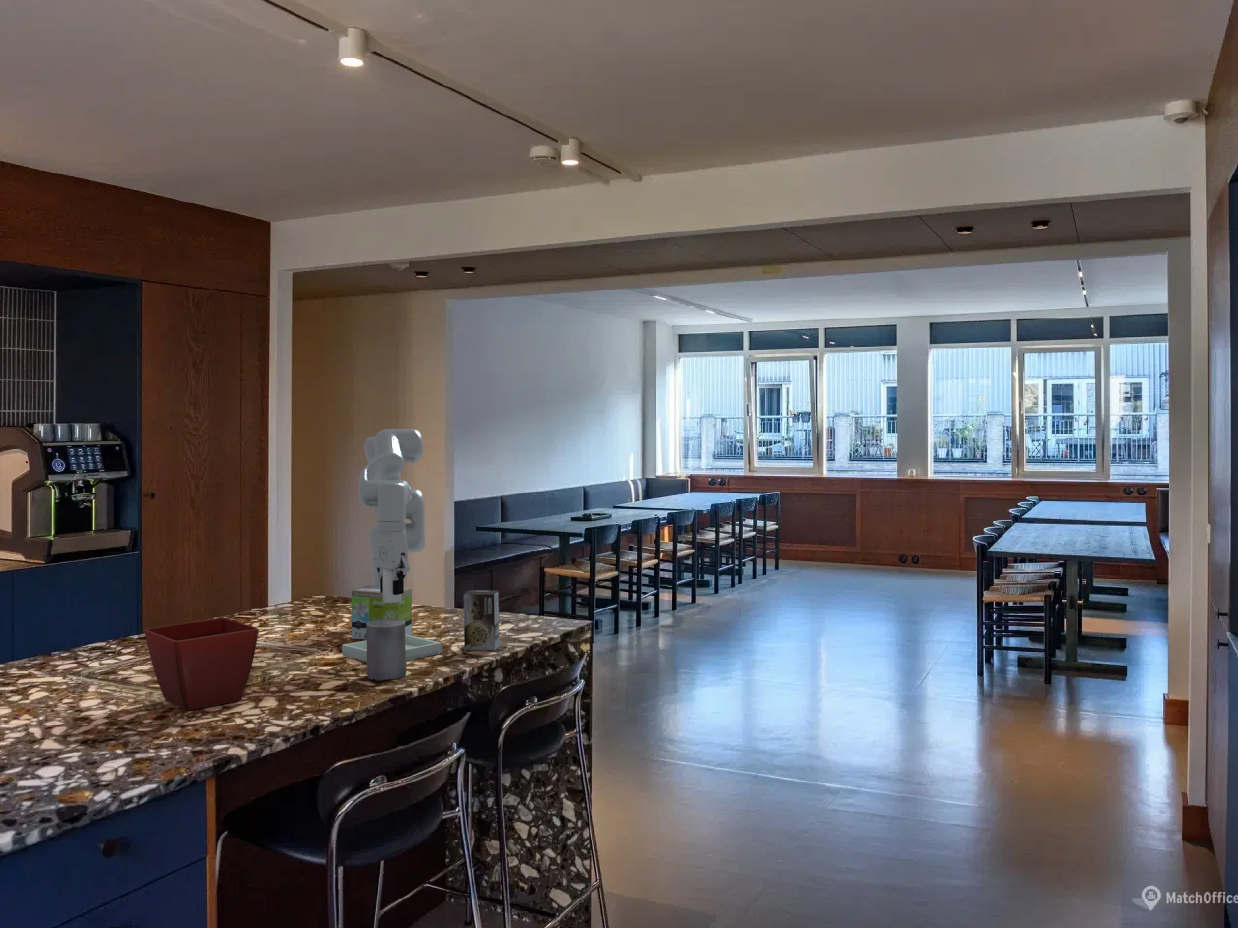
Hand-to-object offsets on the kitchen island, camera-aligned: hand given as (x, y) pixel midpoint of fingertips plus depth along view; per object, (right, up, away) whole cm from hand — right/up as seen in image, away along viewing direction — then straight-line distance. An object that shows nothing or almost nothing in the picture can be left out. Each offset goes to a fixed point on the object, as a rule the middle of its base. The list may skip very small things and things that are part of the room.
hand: (391, 592), depth 278 cm
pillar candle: (+4, -19, -22) cm, 29 cm away
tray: (0, -17, +1) cm, 17 cm away
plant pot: (-33, -19, -46) cm, 60 cm away
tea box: (-8, -17, +22) cm, 29 cm away
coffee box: (+23, -17, +10) cm, 31 cm away
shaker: (0, -2, 0) cm, 2 cm away
